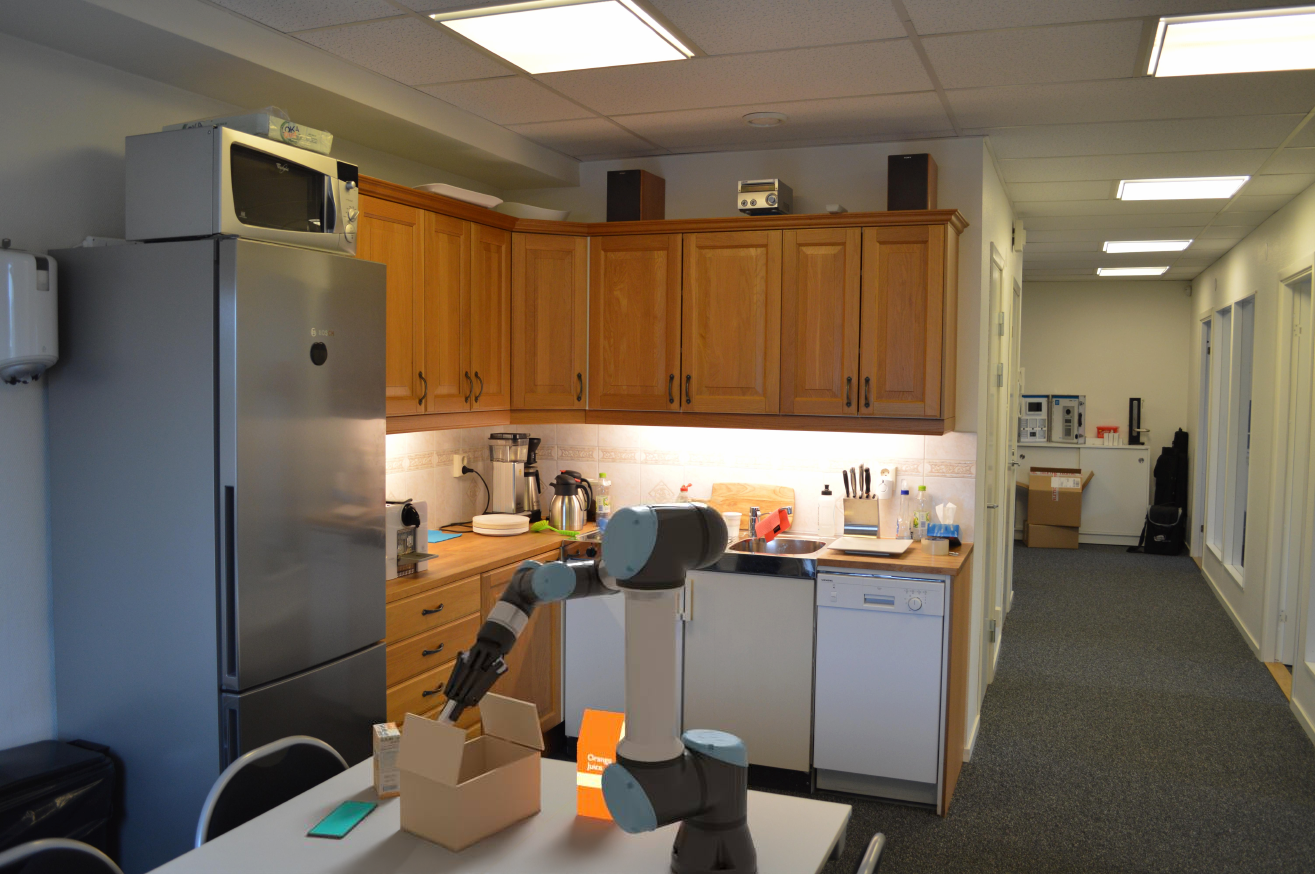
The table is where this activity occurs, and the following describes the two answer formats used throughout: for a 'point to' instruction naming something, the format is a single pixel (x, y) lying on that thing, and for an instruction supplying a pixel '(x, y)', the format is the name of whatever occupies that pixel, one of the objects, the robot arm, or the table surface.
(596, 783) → the orange juice
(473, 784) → the carton
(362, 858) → the table surface
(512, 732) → the right flap
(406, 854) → the table surface
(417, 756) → the left flap
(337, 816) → the smartphone
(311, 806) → the table surface
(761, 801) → the table surface
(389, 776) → the supplement box
